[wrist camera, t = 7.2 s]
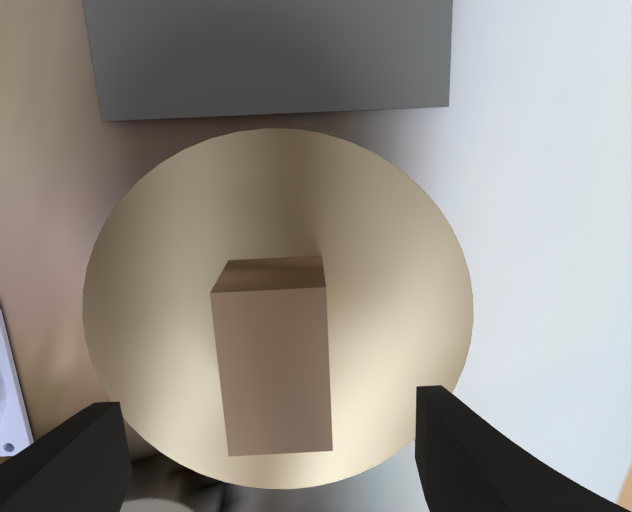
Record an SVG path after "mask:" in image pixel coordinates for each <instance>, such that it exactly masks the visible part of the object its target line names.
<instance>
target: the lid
mask: <svg viewBox="0 0 632 512" xmlns="http://www.w3.org/2000/svg"><path fill="white" fill-rule="evenodd" d="M83 323H84V331H85V339H86V343H87V347H88V350H89V354H90V358H91V361H92V364H93V366H94V369H95V371H96V373H97V376H98V378H99V380H100V383H101V385H102V386H103V388H104V390H105V391H106V393H107V395H108V397H109V398H110V400H111V402H120V406H121V411H122V416H123V418H124V419H125V420H126V421H127V423H128V424H129V425H130V426H131V427H132V428H133V429H134V430H135V431H136V432H137V433H138V434H139V435H140V436H141V437H142V438H144V439H145V440H146V441H147V442H149V443H150V444H151V445H152V446H154V447H155V448H156V449H158V450H159V451H160V452H161V453H163V454H165V455H166V456H168V457H170V458H171V459H173V460H174V461H176V462H178V463H179V464H181V465H183V466H185V467H187V468H189V469H192V470H194V471H196V472H198V473H200V474H202V475H205V476H208V477H211V478H214V479H217V480H220V481H223V482H228V483H232V484H237V485H241V486H246V487H255V488H264V489H296V488H305V487H314V486H319V485H323V484H328V483H332V482H337V481H340V480H343V479H346V478H349V477H352V476H355V475H357V474H360V473H362V472H364V471H366V470H368V469H370V468H372V467H375V466H377V465H379V464H380V463H382V462H384V461H385V460H387V459H388V458H390V457H392V456H393V455H395V454H397V453H398V452H399V451H401V450H402V449H403V448H404V447H406V446H407V445H408V444H409V443H411V442H412V441H413V440H414V439H415V431H416V386H433V385H442V386H443V387H444V388H446V389H447V390H448V391H450V392H451V393H452V391H453V390H454V388H455V386H456V384H457V382H458V379H459V377H460V375H461V372H462V370H463V367H464V365H465V361H466V358H467V354H468V350H469V346H470V343H471V335H472V327H473V293H472V287H471V281H470V275H469V270H468V267H467V264H466V261H465V258H464V254H463V251H462V248H461V246H460V244H459V242H458V240H457V238H456V236H455V234H454V232H453V229H452V227H451V226H450V224H449V223H448V221H447V220H446V218H445V217H444V215H443V214H442V212H441V211H440V209H439V208H438V206H437V205H436V204H435V202H434V201H433V200H432V199H431V198H430V197H429V196H428V195H427V193H426V192H425V191H424V190H423V189H422V188H421V187H420V186H419V185H418V184H417V183H416V182H415V181H414V180H412V179H411V178H410V177H409V176H408V175H406V174H405V173H404V172H403V171H402V170H401V169H399V168H398V167H396V166H395V165H393V164H392V163H390V162H388V161H387V160H385V159H384V158H382V157H381V156H379V155H377V154H376V153H374V152H372V151H369V150H367V149H365V148H363V147H361V146H358V145H356V144H354V143H352V142H350V141H347V140H343V139H340V138H337V137H333V136H330V135H327V134H323V133H318V132H312V131H306V130H299V129H280V128H265V129H257V130H248V131H239V132H234V133H230V134H227V135H223V136H219V137H215V138H211V139H208V140H206V141H203V142H201V143H198V144H196V145H194V146H191V147H189V148H186V149H184V150H182V151H180V152H179V153H177V154H175V155H174V156H172V157H170V158H169V159H167V160H165V161H163V162H162V163H160V164H159V165H157V166H156V167H155V168H154V169H152V170H151V171H150V172H149V173H147V174H146V175H145V176H144V177H142V178H141V179H140V180H139V181H138V182H137V183H136V184H135V185H134V186H133V187H132V188H131V189H130V190H129V191H128V192H127V194H126V195H125V196H124V197H123V198H122V199H121V200H120V201H119V203H118V204H117V206H116V207H115V209H114V210H113V212H112V213H111V214H110V216H109V217H108V219H107V220H106V222H105V224H104V226H103V228H102V230H101V232H100V234H99V236H98V238H97V240H96V242H95V244H94V247H93V250H92V254H91V257H90V260H89V263H88V266H87V270H86V277H85V283H84V289H83Z"/></svg>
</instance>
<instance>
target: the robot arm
mask: <svg viewBox="0 0 632 512" xmlns="http://www.w3.org/2000/svg"><path fill="white" fill-rule="evenodd" d="M9 443H10V444H12V445H13V446H14V447H12V446H11V445H10V444H9ZM0 456H13V457H11V458H10V459H8V460H7V461H5V462H3V463H2V464H0V512H119V511H120V509H121V506H122V503H123V500H124V497H125V495H126V491H127V488H128V485H129V482H130V479H131V476H132V473H133V472H132V466H131V461H130V455H129V450H128V444H127V439H126V433H125V428H124V422H123V417H122V411H121V406H120V402H100V403H93V404H92V405H90V406H88V407H86V408H85V409H83V410H81V411H80V412H78V413H77V414H75V415H74V416H72V417H71V418H69V419H68V420H66V421H65V422H63V423H62V424H60V425H59V426H57V427H56V428H54V429H53V430H51V431H50V432H48V433H47V434H46V435H44V436H43V437H41V438H40V439H38V440H37V441H35V442H34V441H33V437H32V433H31V429H30V425H29V421H28V417H27V413H26V409H25V405H24V401H23V397H22V393H21V389H20V385H19V381H18V376H17V372H16V368H15V364H14V360H13V356H12V352H11V348H10V344H9V340H8V336H7V332H6V328H5V324H4V320H3V316H2V311H1V309H0ZM415 460H416V464H417V468H418V472H419V476H420V481H421V484H422V488H423V492H424V496H425V499H426V502H427V505H428V508H429V510H430V512H631V511H629V510H627V509H625V508H623V507H621V506H619V505H617V504H615V503H613V502H611V501H609V500H607V499H605V498H603V497H601V496H599V495H597V494H595V493H594V492H592V491H590V490H588V489H586V488H584V487H583V486H581V485H579V484H578V483H576V482H574V481H572V480H571V479H569V478H567V477H566V476H564V475H562V474H561V473H559V472H557V471H556V470H554V469H552V468H551V467H549V466H548V465H546V464H544V463H543V462H541V461H540V460H538V459H537V458H535V457H534V456H532V455H531V454H530V453H528V452H527V451H525V450H524V449H522V448H521V447H519V446H518V445H517V444H515V443H514V442H512V441H511V440H510V439H508V438H507V437H506V436H504V435H503V434H502V433H500V432H499V431H498V430H496V429H495V428H494V427H492V426H491V425H490V424H489V423H487V422H486V421H485V420H484V419H482V418H481V417H480V416H479V415H477V414H476V413H475V412H474V411H472V410H471V409H470V408H469V407H468V406H466V405H465V404H464V403H463V402H462V401H460V400H459V399H458V398H457V397H456V396H454V395H453V394H452V393H451V392H450V391H448V390H447V389H446V388H444V387H443V386H442V385H433V386H416V431H415Z"/></svg>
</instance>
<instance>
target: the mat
mask: <svg viewBox="0 0 632 512" xmlns="http://www.w3.org/2000/svg"><path fill="white" fill-rule="evenodd" d="M452 4H453V0H83V6H84V12H85V18H86V24H87V31H88V37H89V43H90V49H91V55H92V61H93V68H94V74H95V80H96V86H97V92H98V98H99V105H100V111H101V117H102V121H126V120H149V119H173V118H196V117H219V116H243V115H266V114H289V113H313V112H336V111H360V110H383V109H406V108H430V107H448V106H449V88H450V60H451V32H452Z"/></svg>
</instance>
